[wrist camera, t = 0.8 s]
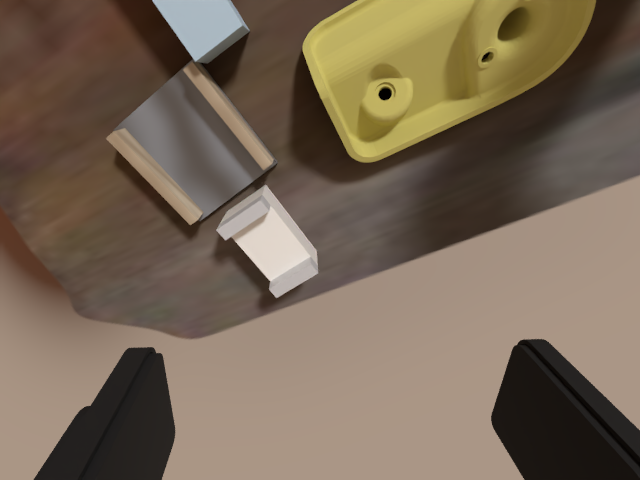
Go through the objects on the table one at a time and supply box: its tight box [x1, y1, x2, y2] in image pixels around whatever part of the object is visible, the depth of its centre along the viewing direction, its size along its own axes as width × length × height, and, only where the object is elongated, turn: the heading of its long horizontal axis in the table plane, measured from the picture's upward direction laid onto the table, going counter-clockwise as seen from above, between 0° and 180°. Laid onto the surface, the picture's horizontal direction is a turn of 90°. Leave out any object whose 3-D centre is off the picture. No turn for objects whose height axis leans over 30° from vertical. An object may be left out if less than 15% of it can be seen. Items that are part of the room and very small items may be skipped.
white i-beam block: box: [217, 185, 318, 298], centre depth 35 cm, size 5×9×5 cm, turn 34°
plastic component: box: [303, 0, 596, 162], centre depth 29 cm, size 20×7×10 cm
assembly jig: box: [106, 59, 277, 225], centre depth 32 cm, size 10×11×3 cm
